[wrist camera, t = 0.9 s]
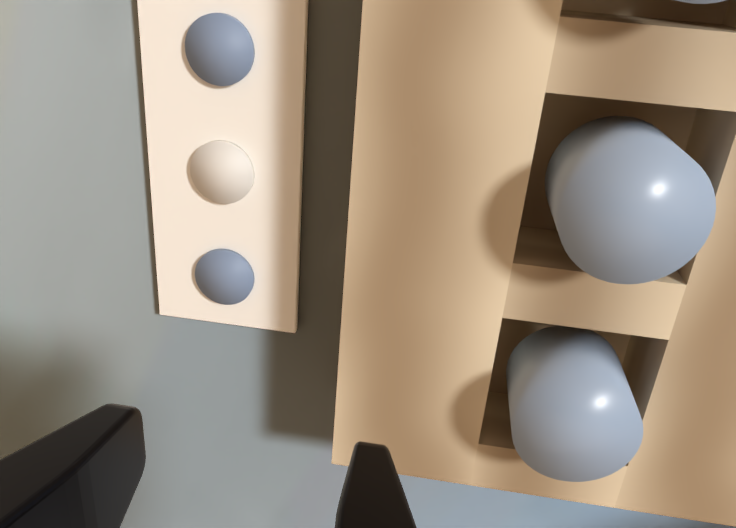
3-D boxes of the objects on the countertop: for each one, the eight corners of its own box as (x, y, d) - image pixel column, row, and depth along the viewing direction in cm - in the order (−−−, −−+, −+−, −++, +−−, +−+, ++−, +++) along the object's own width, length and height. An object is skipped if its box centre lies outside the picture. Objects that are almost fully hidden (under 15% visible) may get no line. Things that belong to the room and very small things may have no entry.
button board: (1014, -259, 13) (1162, -317, 10) (725, 455, 20) (764, 531, 18) (401, -290, 14) (386, -350, 11) (348, 400, 22) (331, 463, 19)
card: (308, -15, 16) (304, -14, 16) (297, 328, 21) (293, 336, 20) (140, -30, 17) (131, -29, 16) (163, 309, 21) (157, 317, 21)
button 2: (633, 333, 17) (658, 390, 15) (605, 424, 18) (625, 490, 16) (516, 318, 17) (523, 371, 15) (497, 409, 18) (502, 471, 16)
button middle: (695, 123, 15) (736, 153, 12) (658, 245, 16) (690, 293, 14) (558, 108, 15) (575, 135, 13) (533, 230, 16) (544, 274, 14)
